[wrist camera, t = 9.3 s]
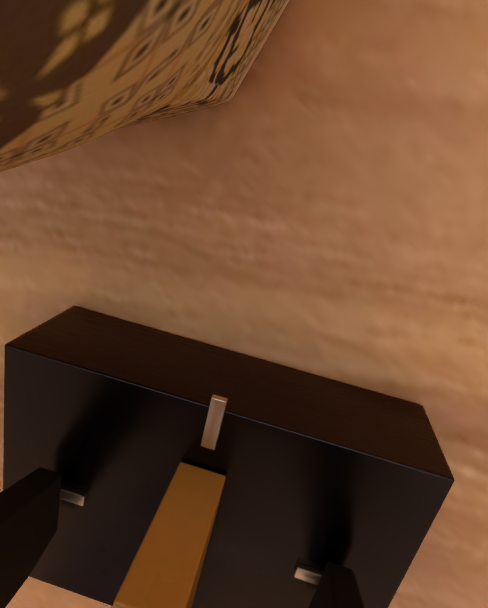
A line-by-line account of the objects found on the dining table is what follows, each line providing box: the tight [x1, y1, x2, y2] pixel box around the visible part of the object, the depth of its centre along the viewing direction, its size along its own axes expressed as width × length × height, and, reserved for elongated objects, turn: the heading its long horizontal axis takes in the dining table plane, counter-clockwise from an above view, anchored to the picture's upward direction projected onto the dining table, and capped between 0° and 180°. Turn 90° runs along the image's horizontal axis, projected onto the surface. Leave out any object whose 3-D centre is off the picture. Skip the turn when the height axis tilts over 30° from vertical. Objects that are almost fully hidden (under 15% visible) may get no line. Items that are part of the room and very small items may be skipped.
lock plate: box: [3, 306, 454, 608], centre depth 12 cm, size 11×9×3 cm
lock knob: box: [113, 462, 226, 608], centre depth 9 cm, size 4×1×4 cm, turn 167°
